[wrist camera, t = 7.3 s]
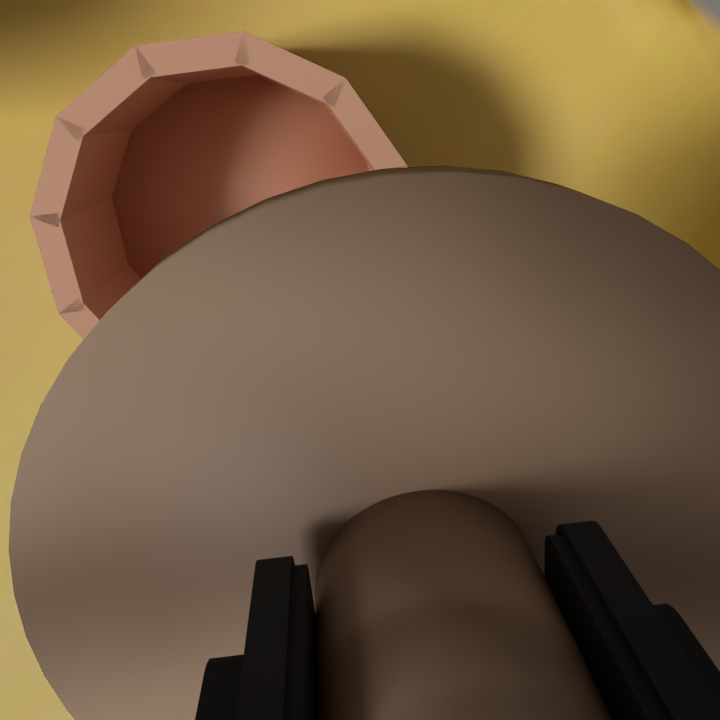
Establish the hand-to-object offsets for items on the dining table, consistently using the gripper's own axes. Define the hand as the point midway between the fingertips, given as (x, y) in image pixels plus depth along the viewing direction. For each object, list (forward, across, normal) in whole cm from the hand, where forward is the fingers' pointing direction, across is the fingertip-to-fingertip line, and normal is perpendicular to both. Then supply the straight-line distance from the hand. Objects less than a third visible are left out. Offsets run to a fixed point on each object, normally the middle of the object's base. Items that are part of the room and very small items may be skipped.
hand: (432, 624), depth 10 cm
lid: (+2, 0, 0) cm, 2 cm away
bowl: (+18, +4, -4) cm, 19 cm away
